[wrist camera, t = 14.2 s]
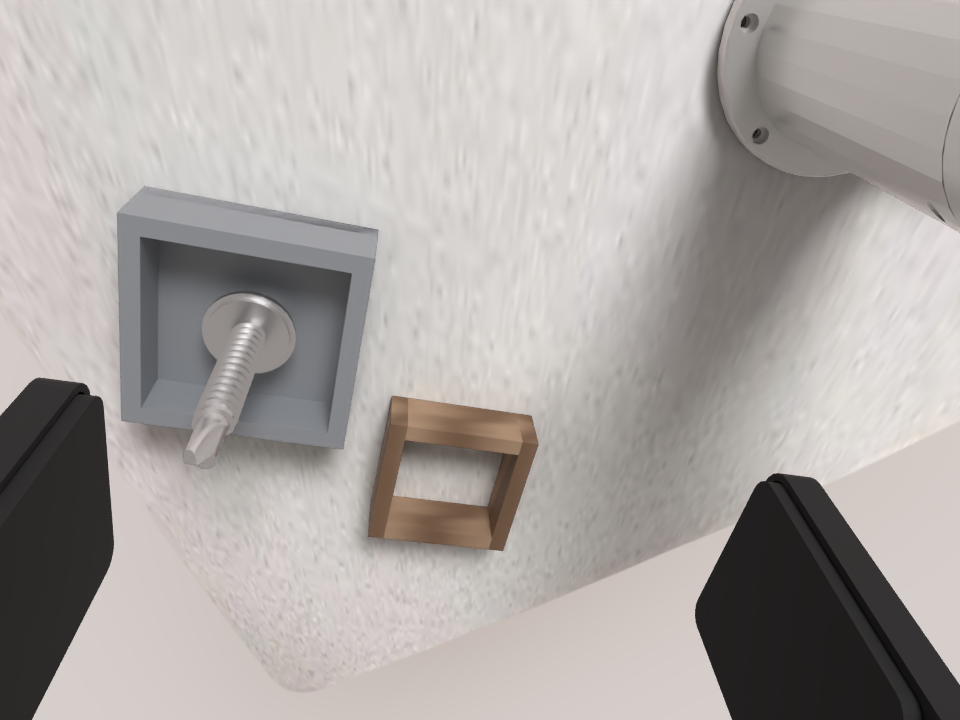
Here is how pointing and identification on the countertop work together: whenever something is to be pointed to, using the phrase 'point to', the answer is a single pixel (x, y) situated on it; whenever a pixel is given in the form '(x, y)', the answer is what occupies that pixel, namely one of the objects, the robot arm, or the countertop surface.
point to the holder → (456, 430)
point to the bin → (230, 268)
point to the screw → (236, 364)
